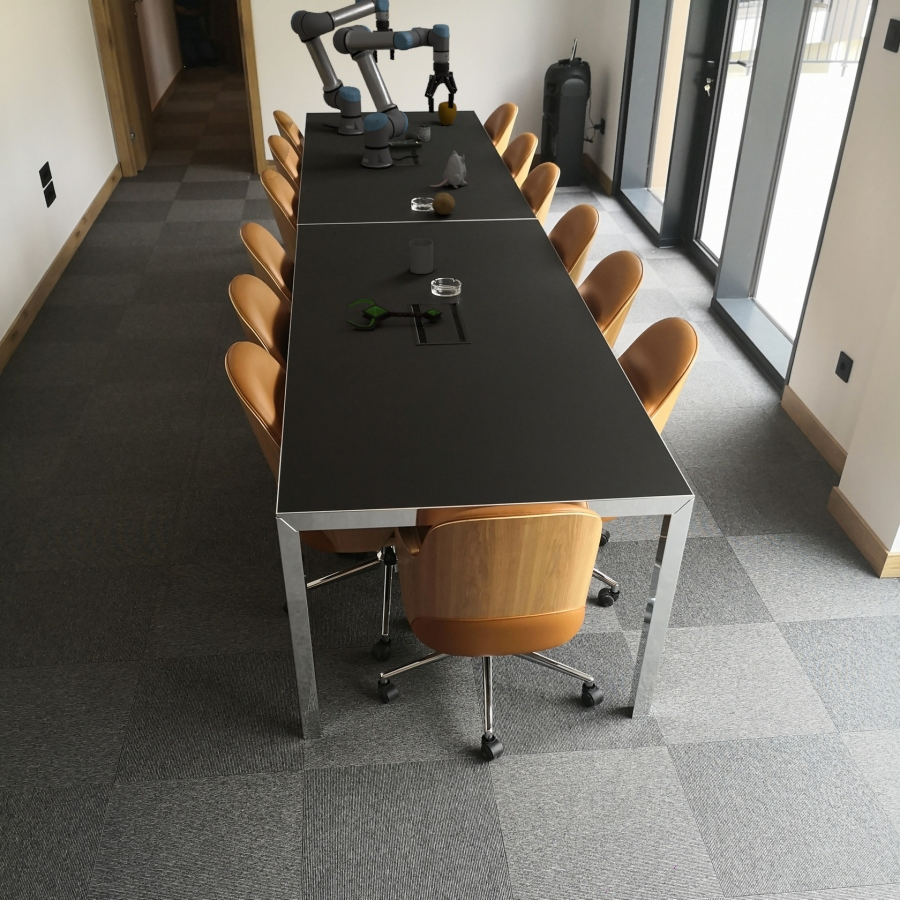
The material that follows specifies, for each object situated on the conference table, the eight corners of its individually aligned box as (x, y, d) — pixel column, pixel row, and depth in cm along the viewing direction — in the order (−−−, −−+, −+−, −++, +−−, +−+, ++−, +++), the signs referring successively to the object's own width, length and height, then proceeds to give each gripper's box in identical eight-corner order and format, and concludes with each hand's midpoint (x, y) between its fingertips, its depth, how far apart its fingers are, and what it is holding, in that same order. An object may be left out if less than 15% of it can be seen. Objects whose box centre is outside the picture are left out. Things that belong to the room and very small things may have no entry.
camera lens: (425, 142, 467) (425, 127, 463) (416, 140, 471) (416, 125, 467) (432, 140, 472) (432, 125, 467) (424, 138, 475) (423, 123, 471)
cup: (409, 265, 311) (408, 238, 306) (432, 265, 312) (431, 238, 307) (410, 274, 304) (409, 246, 299) (433, 273, 305) (433, 246, 299)
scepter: (442, 294, 271) (346, 291, 269) (443, 324, 264) (344, 322, 262) (441, 307, 276) (346, 304, 274) (442, 337, 269) (345, 335, 267)
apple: (456, 126, 498) (456, 103, 491) (437, 126, 498) (437, 102, 492) (456, 122, 508) (456, 99, 501) (438, 122, 508) (438, 99, 501)
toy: (472, 184, 399) (472, 151, 391) (436, 195, 384) (436, 161, 376) (457, 180, 404) (458, 147, 396) (422, 191, 389) (421, 157, 381)
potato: (453, 208, 369) (453, 189, 365) (456, 218, 357) (456, 199, 353) (431, 208, 368) (430, 189, 364) (432, 218, 356) (432, 199, 352)
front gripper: (428, 66, 389) (428, 115, 400) (465, 59, 404) (464, 107, 416) (416, 64, 393) (417, 113, 404) (453, 57, 409) (452, 105, 420)
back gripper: (371, 22, 472) (373, 64, 484) (402, 18, 488) (403, 59, 500) (361, 21, 476) (363, 63, 488) (393, 17, 492) (394, 57, 504)
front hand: (441, 110), depth 410 cm, fingers open, 13 cm apart
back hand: (383, 61), depth 494 cm, fingers open, 13 cm apart
